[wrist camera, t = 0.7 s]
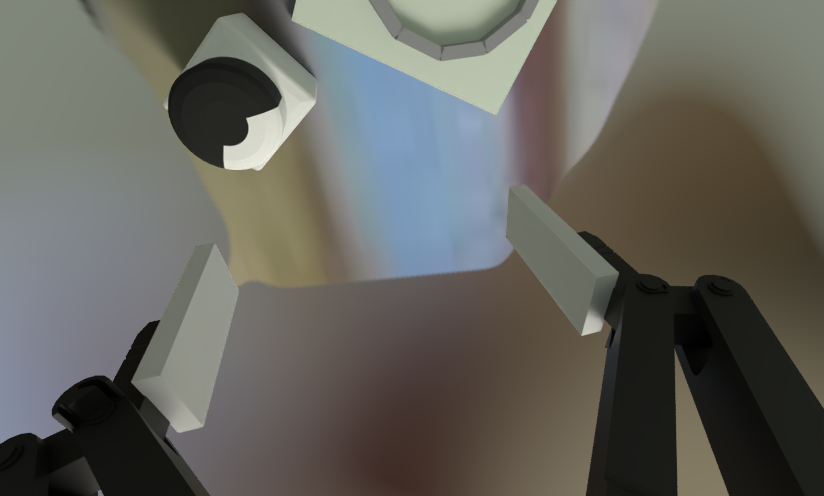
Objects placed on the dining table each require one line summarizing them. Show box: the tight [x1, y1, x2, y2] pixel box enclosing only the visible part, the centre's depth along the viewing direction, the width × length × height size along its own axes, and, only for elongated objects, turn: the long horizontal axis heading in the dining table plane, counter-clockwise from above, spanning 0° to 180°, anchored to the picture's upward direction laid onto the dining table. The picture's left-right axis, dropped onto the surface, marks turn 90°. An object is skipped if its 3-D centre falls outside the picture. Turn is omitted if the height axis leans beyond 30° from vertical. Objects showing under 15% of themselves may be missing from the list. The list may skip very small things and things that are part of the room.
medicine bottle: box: [163, 13, 318, 171], centre depth 25 cm, size 7×7×12 cm
